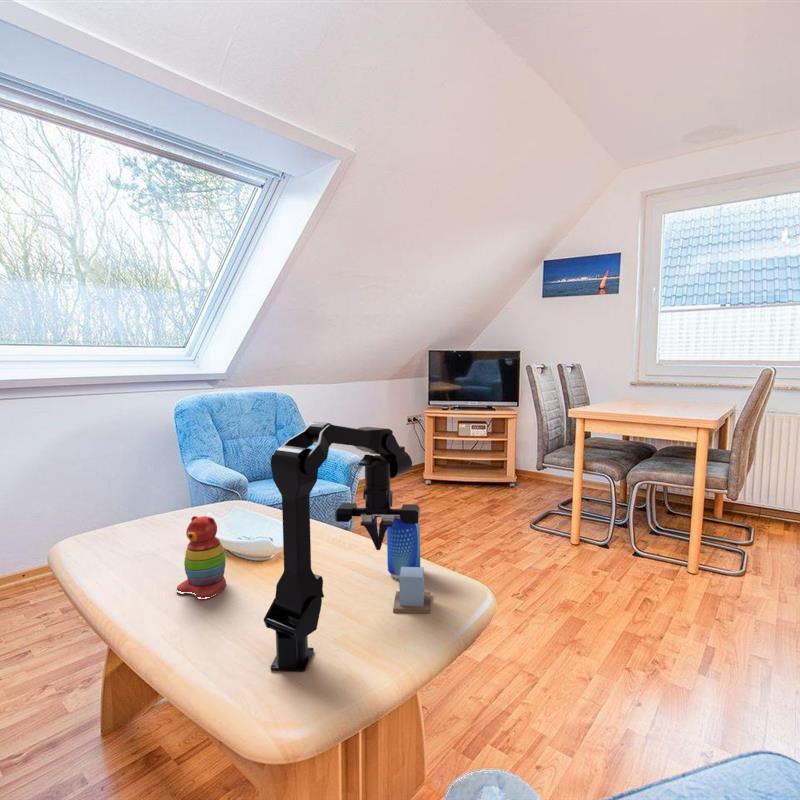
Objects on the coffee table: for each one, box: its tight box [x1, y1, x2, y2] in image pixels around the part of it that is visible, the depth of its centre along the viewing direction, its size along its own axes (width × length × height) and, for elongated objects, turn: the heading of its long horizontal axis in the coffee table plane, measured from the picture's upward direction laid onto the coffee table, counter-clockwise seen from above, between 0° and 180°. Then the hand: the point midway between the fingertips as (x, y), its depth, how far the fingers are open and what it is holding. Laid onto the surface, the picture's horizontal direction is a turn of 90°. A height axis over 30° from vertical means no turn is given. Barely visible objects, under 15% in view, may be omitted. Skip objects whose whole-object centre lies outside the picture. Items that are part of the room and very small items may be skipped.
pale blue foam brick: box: [398, 566, 425, 606], centre depth 112 cm, size 5×5×7 cm
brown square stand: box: [392, 590, 431, 614], centre depth 112 cm, size 8×8×6 cm
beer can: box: [386, 517, 421, 580], centre depth 127 cm, size 8×8×16 cm
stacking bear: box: [176, 515, 227, 598], centre depth 121 cm, size 11×10×18 cm
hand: (378, 549), depth 114 cm, fingers closed
